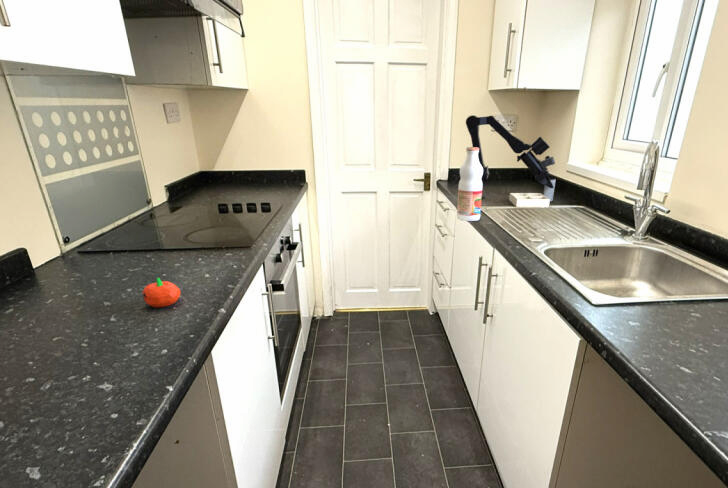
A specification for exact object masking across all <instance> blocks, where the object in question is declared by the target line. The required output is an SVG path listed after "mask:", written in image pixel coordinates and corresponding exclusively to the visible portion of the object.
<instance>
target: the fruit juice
mask: <svg viewBox="0 0 728 488" xmlns="http://www.w3.org/2000/svg"><path fill="white" fill-rule="evenodd" d="M465 150H466V157H465V160H464V162H463V163H462V165H461V166H460V168H459V176H460V179H459V181H458V191H457V208H456V218H457V220H459V221H463V222H477V221H479V220H480V219H481V211H482V200H483V198H482V196H483V193H482V185H483V184H482V180H481V178H482V175H483V167H482V166H481V164H480V162H479V158H478V152H479V148H478V147H473V146H467V147H466V148H465Z"/></svg>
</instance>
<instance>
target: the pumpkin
mask: <svg viewBox="0 0 728 488" xmlns="http://www.w3.org/2000/svg"><path fill="white" fill-rule="evenodd" d="M181 294H182V292H181V289H180V288H179V287H178V286H177V285H176V284H175V283H173V282H171V281H166V280H161V278H160V277H156V282H153V283H150V284H147V285H146V286H145V287H144V288H143V290H142V297H143V301H144V302H145V303H146V304H147V305H149V306H151V307H153V308H164V307H167V306H168V307H169V306H171V305H173V304H174V303H175V304H176V302H177V301H178V300H179V298H180V296H181Z"/></svg>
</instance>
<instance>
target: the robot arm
mask: <svg viewBox="0 0 728 488" xmlns="http://www.w3.org/2000/svg"><path fill="white" fill-rule="evenodd" d="M485 125H488V126H490V127H491V128H492V129H493V130H494V131H495V132H496V133H497V134H498V135H499V136H501V138H502V139H504V141H506V143H507V144H508V146H509V148H510V149H511V150H512V152H513V153H515V154H517V156H516V162H517V163H518V162H520V161H522V162H523V164H524V166H526V167H527V168H528V170H529V171H530V172H531V173H532V174H533V177H535V178H534V179H535V181H536V183H539V184H542V185H544V186H545V185H546V186H548V187H550V188H553V185H552V183H551V181H550V179H549V178H550V172H549V169H548V167H550V166H553V165H555V164H556V162H555V159H554V156H549V155H546V156H545V157H544V159H542V160H541V159H539V158H537V157H536V156H541V155H543V154H544V153H545V152H546V151H547V150H549V149H550V145H549V144H548V143H547V142H546V141H545V140H544V138H542V136H539V137H537V139H536V140H535V141H534V142H533V143H531V144H530V143H526V142H524V140H521V139H520V138H518V137H517V136H515V135H513V134H512V133H511V132H510V131H509V130H508V129H507V128H506V126H505V127H504V125H503V124H501V122H499V121H498V120H497V119H496V118H495V116H493V115H488V116H477V115H468V116H467V118H466V119H465V126H466V128H467V131H468V133H469V135H470V139H471V145H472V146H471V147H478V148H479V152H478V158H479V162H480V164H481V166H482V167H483V175H482V178H481V180H482V194H483V192H484V191H483V190H484V183H486V181H487V180H488V179H489V175H490V171H489V165H486V164H485V163H484V156H483V155H484V154H483V151H482V145H481V138H480V126H485ZM525 151H526V152H525ZM519 154H520V155H519ZM484 198H485V197H484V195H482V199H484Z"/></svg>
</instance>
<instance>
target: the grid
mask: <svg viewBox="0 0 728 488" xmlns="http://www.w3.org/2000/svg"><path fill="white" fill-rule="evenodd" d="M508 197H509V199H508V200H509V202H510V203H511V204H512V205H513V206H514V207H516V208H549V207H550V202H551V201H550V199H549V198H547V197H546V196H544V195H543V194H542V193H540V192H510V193H509V196H508Z"/></svg>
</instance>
